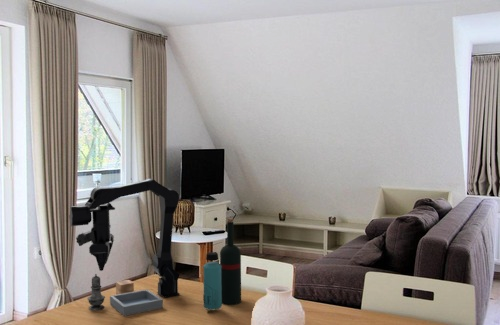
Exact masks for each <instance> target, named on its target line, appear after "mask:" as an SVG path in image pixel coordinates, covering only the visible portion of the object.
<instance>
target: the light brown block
mask: <svg viewBox="0 0 500 325" xmlns="http://www.w3.org/2000/svg"><path fill="white" fill-rule="evenodd" d="M134 286H135V285H134V281H132V280H129V279H125V280H119V281H115V295H118V294H124V293H129V292H135V290H134Z"/></svg>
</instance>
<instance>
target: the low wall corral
mask: <svg viewBox="0 0 500 325" xmlns="http://www.w3.org/2000/svg"><path fill="white" fill-rule="evenodd" d="M163 301H164V300H163V298H161V297H159V295H158V294H155V293H153V292H152V291H150V290H149V289H143V290H141V289H140V290H134V292H129V293H124V294H118V295H116V294H114V295H109V304H110V306H111V307H112V308H114V309H115V310H116V311H117V312H119V313H120V314H121V315H122V316H124V317H125V316H129V315H135V314H139V313H145V312H149V311H154V310H160V309H163V308H164V302H163Z"/></svg>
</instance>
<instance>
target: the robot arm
mask: <svg viewBox="0 0 500 325" xmlns="http://www.w3.org/2000/svg"><path fill="white" fill-rule="evenodd" d="M148 191H150V192H151V193H153V194H154V195H155V196H157V197H158V202H159V207H160V211H161V216H160V227H159V228H160V229H159V238H158V239H159V240H158V249H157V250H158V251H157V253H156V254H152V256H151V257H152V261H151V266H152V269H153V271H154V272H156V273H157V274H158V276H159V277H158V282H157V292H156V293H157V295H158V296H161V297H162V298H170V297H176V296H180V292H179V291H178V290H179V283H178V280H179V278H180V273H178V272H177V271H176V270H175V269H174V263H173V262H174V261H173V256H172V251H171V250H172V237H173V226H174V225H173V224H174V215H175V212H176V210H177V208H178V205H179V202H180V194H179V193H178V191H176V190H174V189H171V188H167V187H166V186H164V185H163V184H161V183H159V182H157V181H156V180H155V179H152V178H146V179H145V180H141V181H140V180H139V181H136V182H131V183H130V182H129V183H126V184H121V185H118V186H96V187H93V188H92V189H91V191H90V194H89V198H88V200H87V201H86V202H85V204H84V205H78V206H76V205H72V206H70V210H69V215H68V218H69V219H68V220H69V225H70V227H78V226H79V227H80V226H88V225H89V224H90V223H91V222H92V227H91V229H90V230H88V231H86V232H82V233H79V234H78V235H77V236H75V239H76V241H75V242H76V243H77V244H78V246H79V247H82V246H84V245H85V244H87V243H90V242H91V244H90V245H89V247H88V250H89V254H90V255H91V256H93V257H95V259H96V262H97V266H98V269H99V271H100V272H102V271H104V269H105V265H106V264H107V262H108V260H109V257H110V254H111V251H112V248H113V244H114V241H115V239H114V238H115V237H114V235H113V233H111V222H110V221H111V220H110V211H114V210H116V207H114V206H113V205H112V202H114V201H115V200H117V199H119V198H122V197H127V196H131V195H136V194H140V193H145V192H148Z"/></svg>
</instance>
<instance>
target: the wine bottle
mask: <svg viewBox="0 0 500 325" xmlns="http://www.w3.org/2000/svg"><path fill="white" fill-rule="evenodd" d="M226 222H227V223H226V224H227V226H226V227H227V228H226V232H227V236H226V242H227V244H225V245H224V246H223V247H222V248H221V249H220V251H219V264H220V265H221V266H222V267H221V284H222V305H225V306H233V305H239V304H241V303H242V265H241V264H242V255H241V254H242V252H241V250H240V248H239V247H238V246H237V245H235V244H234V219H233V218H232V217H231V218H230V217H228V218H227V221H226Z"/></svg>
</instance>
